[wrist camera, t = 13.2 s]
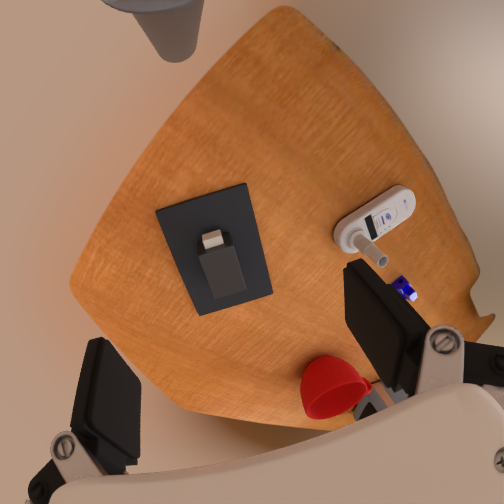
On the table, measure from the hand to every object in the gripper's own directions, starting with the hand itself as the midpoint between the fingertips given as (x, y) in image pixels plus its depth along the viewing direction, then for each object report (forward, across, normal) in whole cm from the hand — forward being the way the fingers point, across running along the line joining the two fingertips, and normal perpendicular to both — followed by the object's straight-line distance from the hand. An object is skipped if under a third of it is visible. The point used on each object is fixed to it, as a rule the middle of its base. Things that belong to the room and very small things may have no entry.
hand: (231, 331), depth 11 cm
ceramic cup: (+28, -13, +47) cm, 56 cm away
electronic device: (+28, -23, +14) cm, 39 cm away
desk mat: (+28, +1, +13) cm, 31 cm away
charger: (+28, +1, +13) cm, 31 cm away
